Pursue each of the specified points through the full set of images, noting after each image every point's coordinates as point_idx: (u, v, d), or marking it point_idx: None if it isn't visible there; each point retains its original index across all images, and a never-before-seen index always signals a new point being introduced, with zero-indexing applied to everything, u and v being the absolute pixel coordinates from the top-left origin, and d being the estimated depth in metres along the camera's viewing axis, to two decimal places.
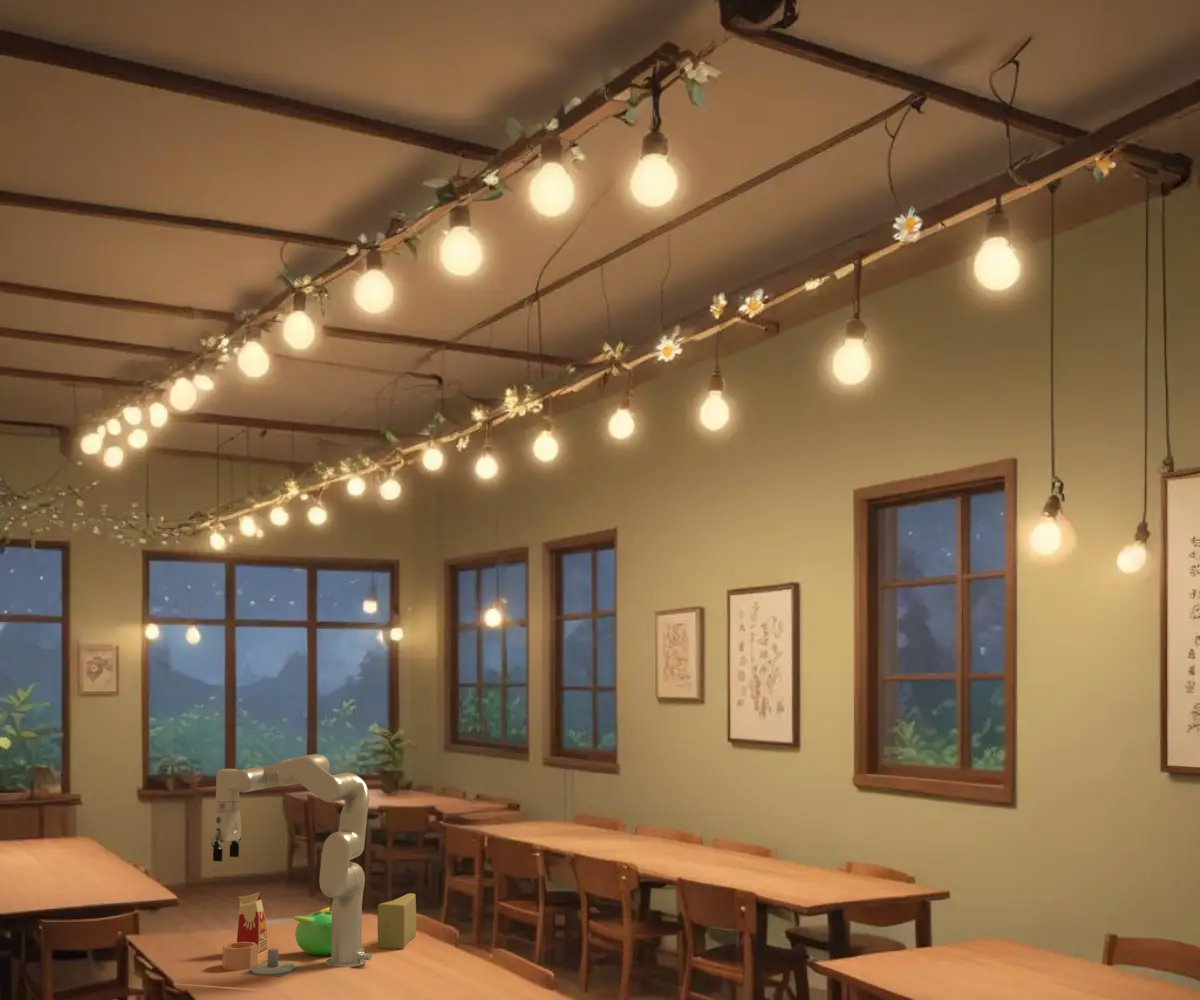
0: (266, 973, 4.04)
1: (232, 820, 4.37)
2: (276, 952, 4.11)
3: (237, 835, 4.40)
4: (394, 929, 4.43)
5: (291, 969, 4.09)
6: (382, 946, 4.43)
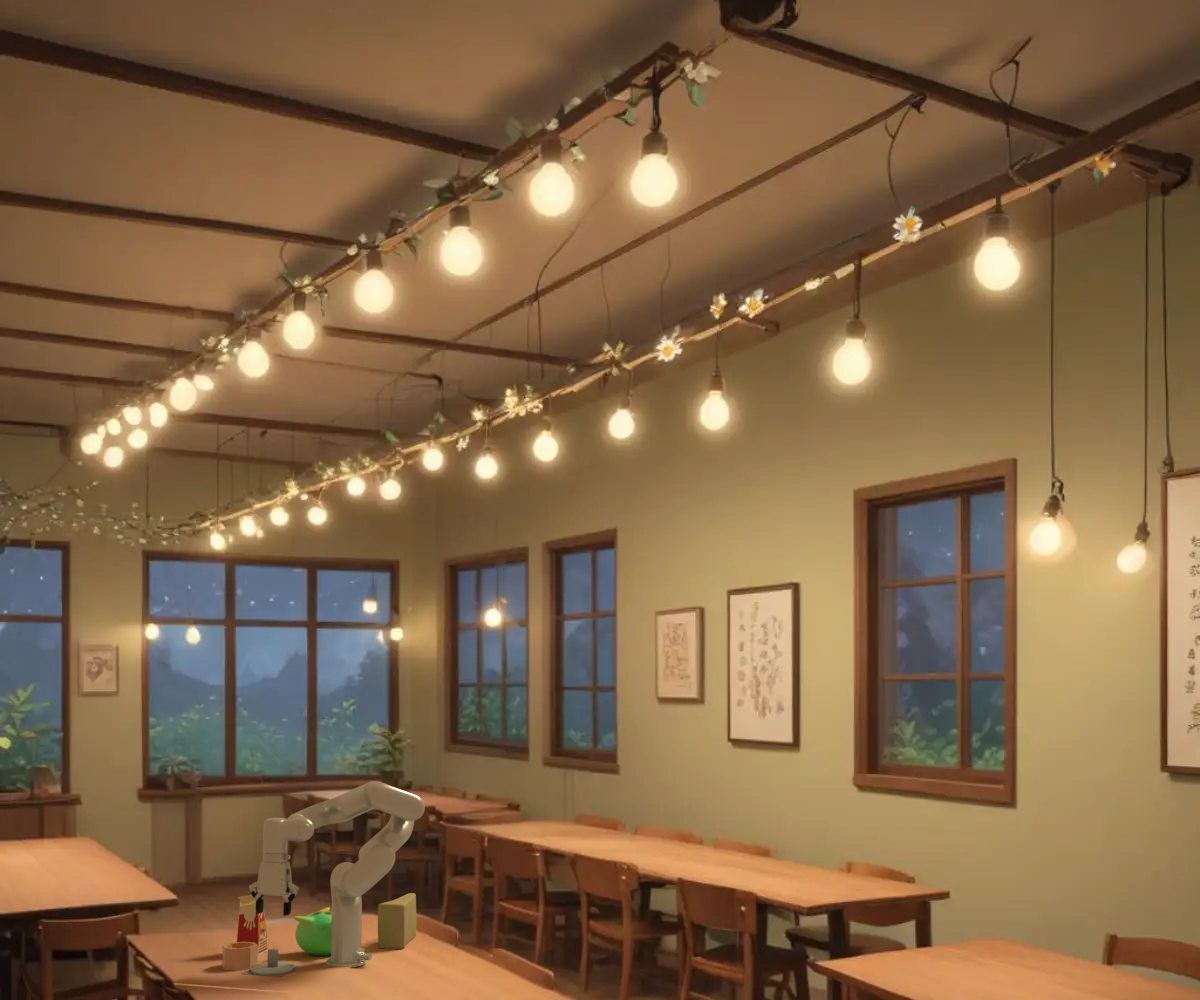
0: (266, 973, 4.04)
1: None
2: (276, 952, 4.11)
3: None
4: (394, 928, 4.43)
5: (291, 969, 4.09)
6: (382, 946, 4.44)
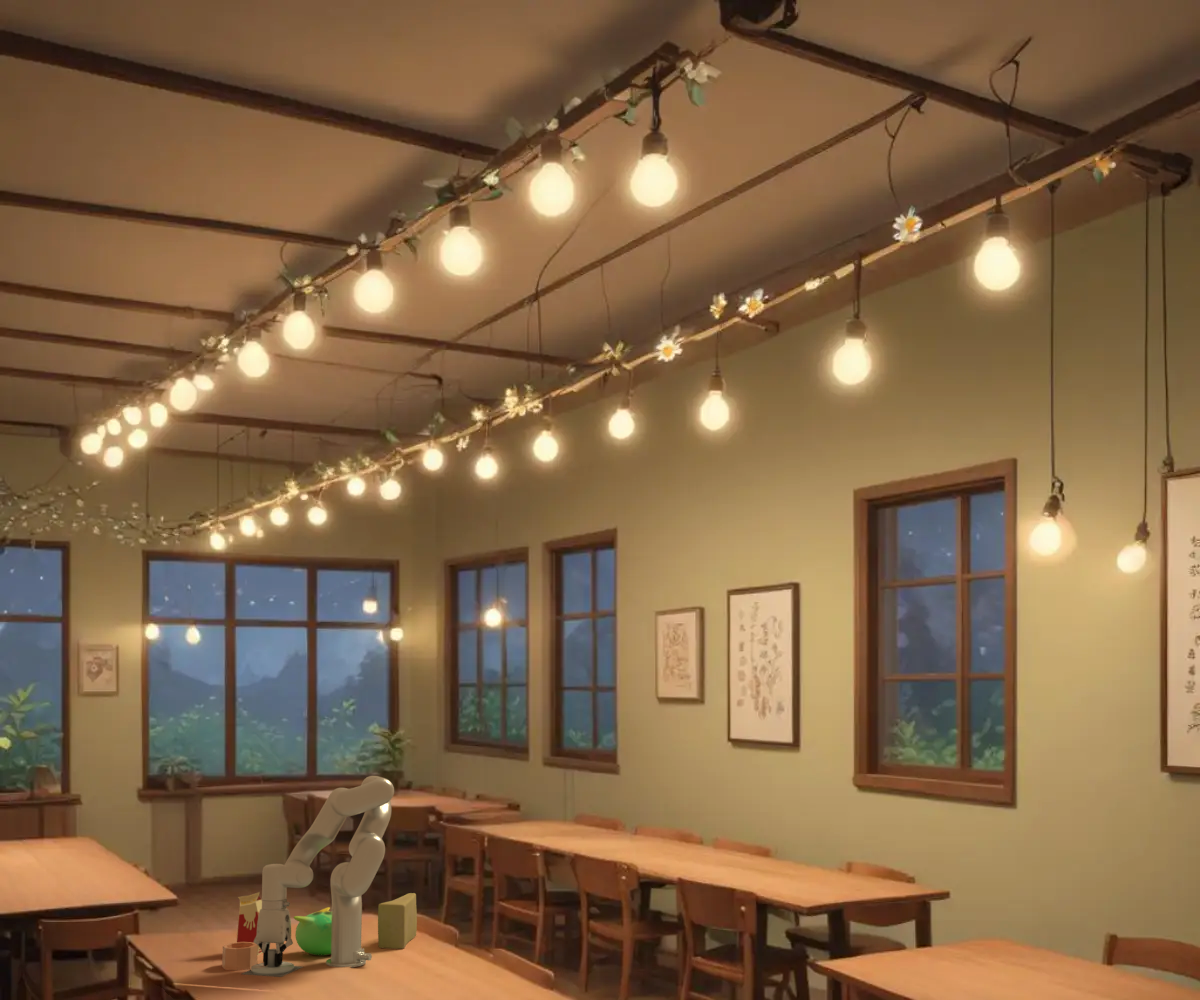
0: (266, 973, 4.04)
1: None
2: (276, 952, 4.11)
3: None
4: (394, 928, 4.44)
5: (291, 969, 4.09)
6: (382, 946, 4.44)
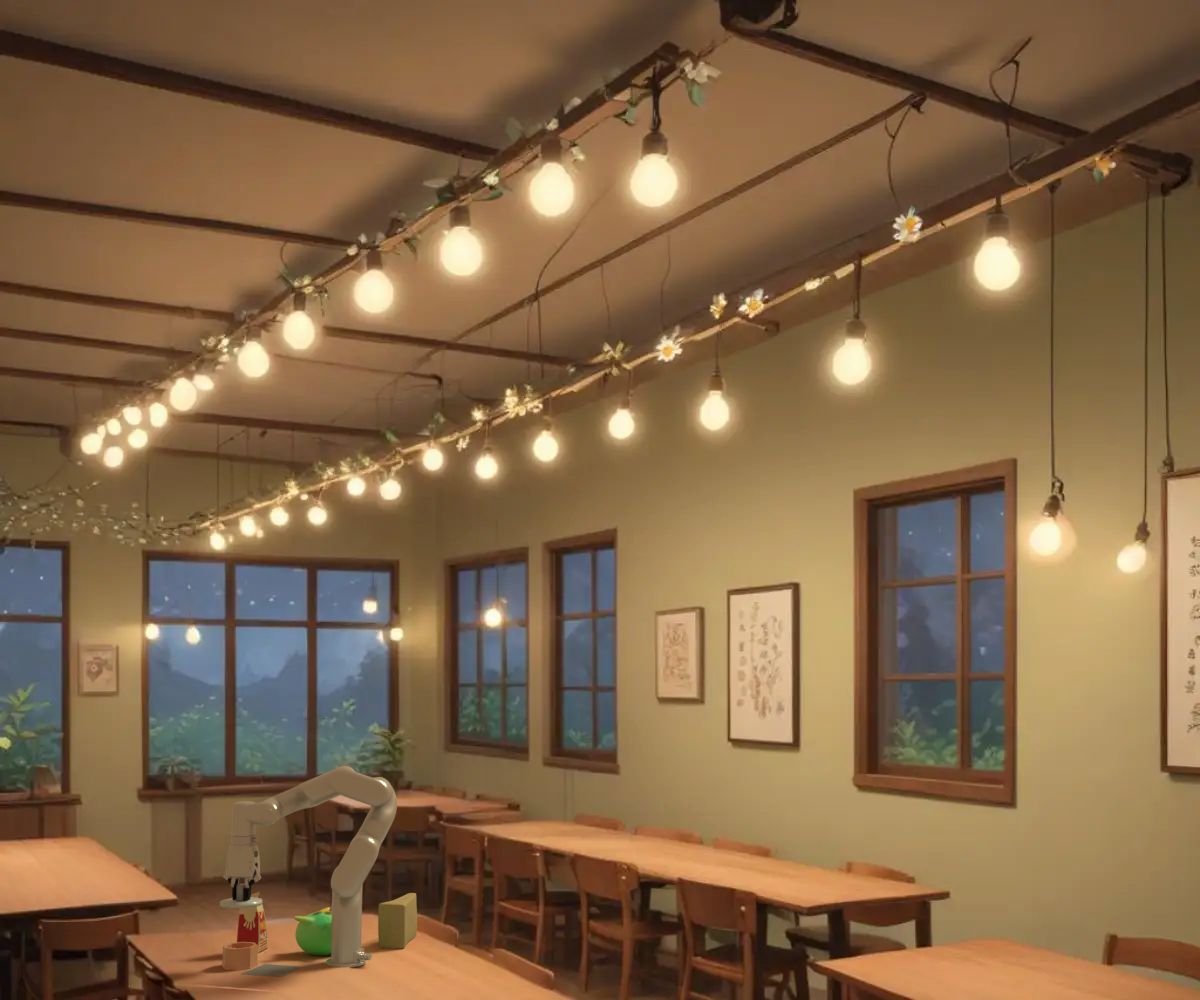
0: (234, 906, 4.12)
1: None
2: None
3: None
4: (394, 928, 4.44)
5: (259, 903, 4.17)
6: (383, 946, 4.44)
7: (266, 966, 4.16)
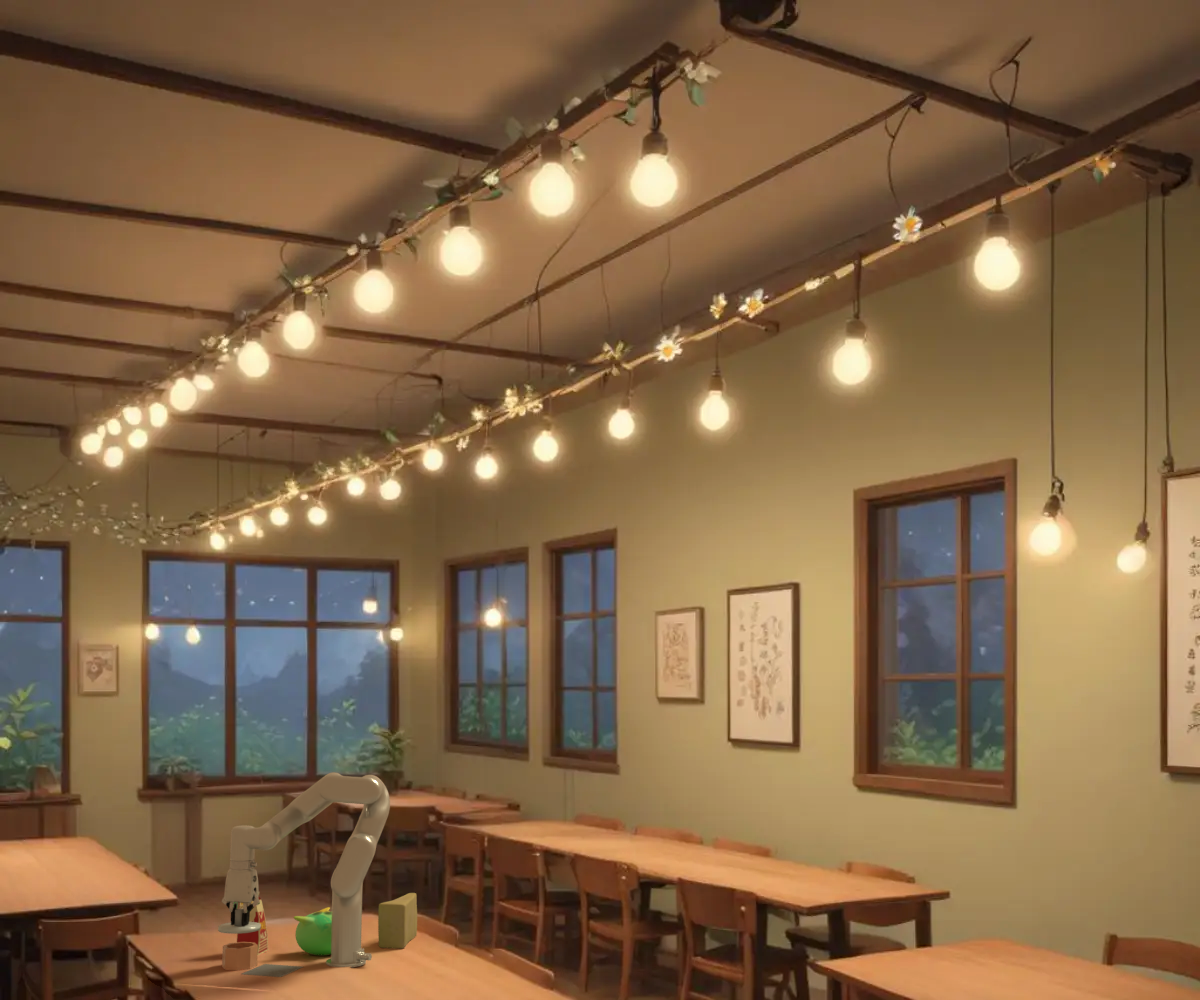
0: (233, 931, 4.11)
1: None
2: (243, 911, 4.17)
3: None
4: (394, 928, 4.44)
5: (258, 928, 4.16)
6: (383, 945, 4.44)
7: (266, 966, 4.16)
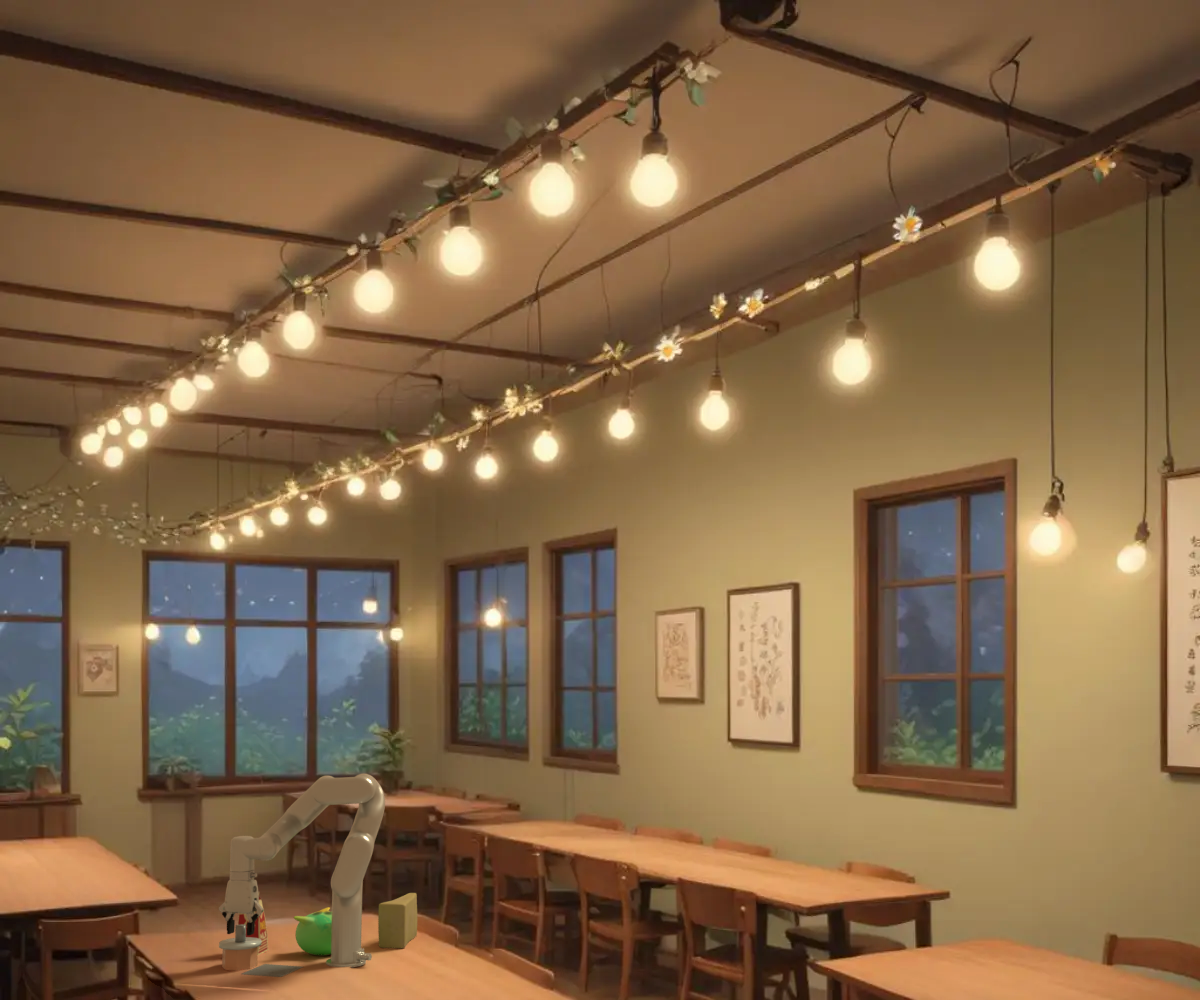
0: (233, 948, 4.11)
1: None
2: (244, 927, 4.17)
3: None
4: (394, 928, 4.44)
5: (258, 944, 4.16)
6: (383, 945, 4.44)
7: (266, 966, 4.16)
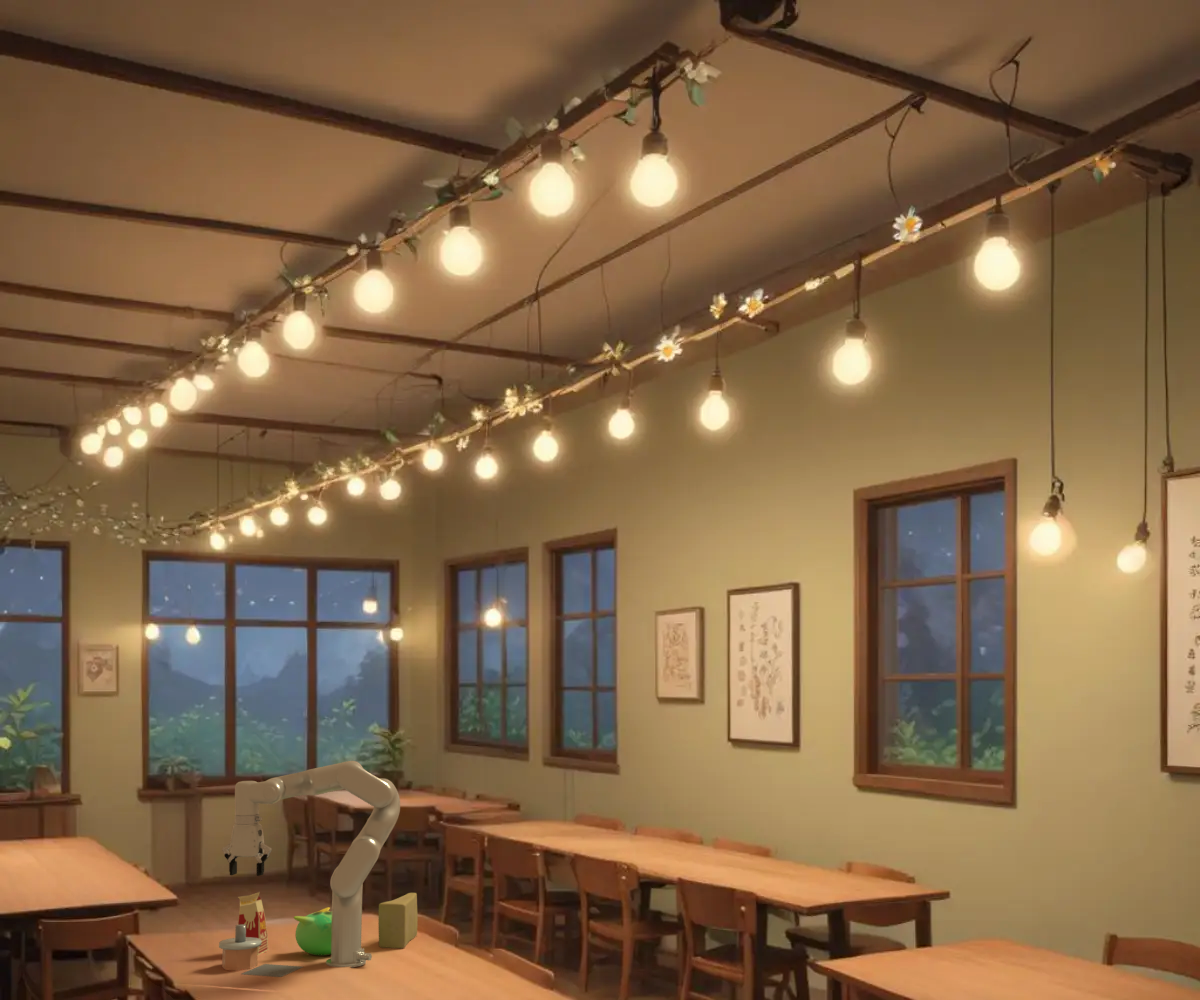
0: (233, 948, 4.11)
1: None
2: (244, 927, 4.17)
3: None
4: (394, 928, 4.44)
5: (258, 944, 4.16)
6: (383, 945, 4.45)
7: (266, 966, 4.16)
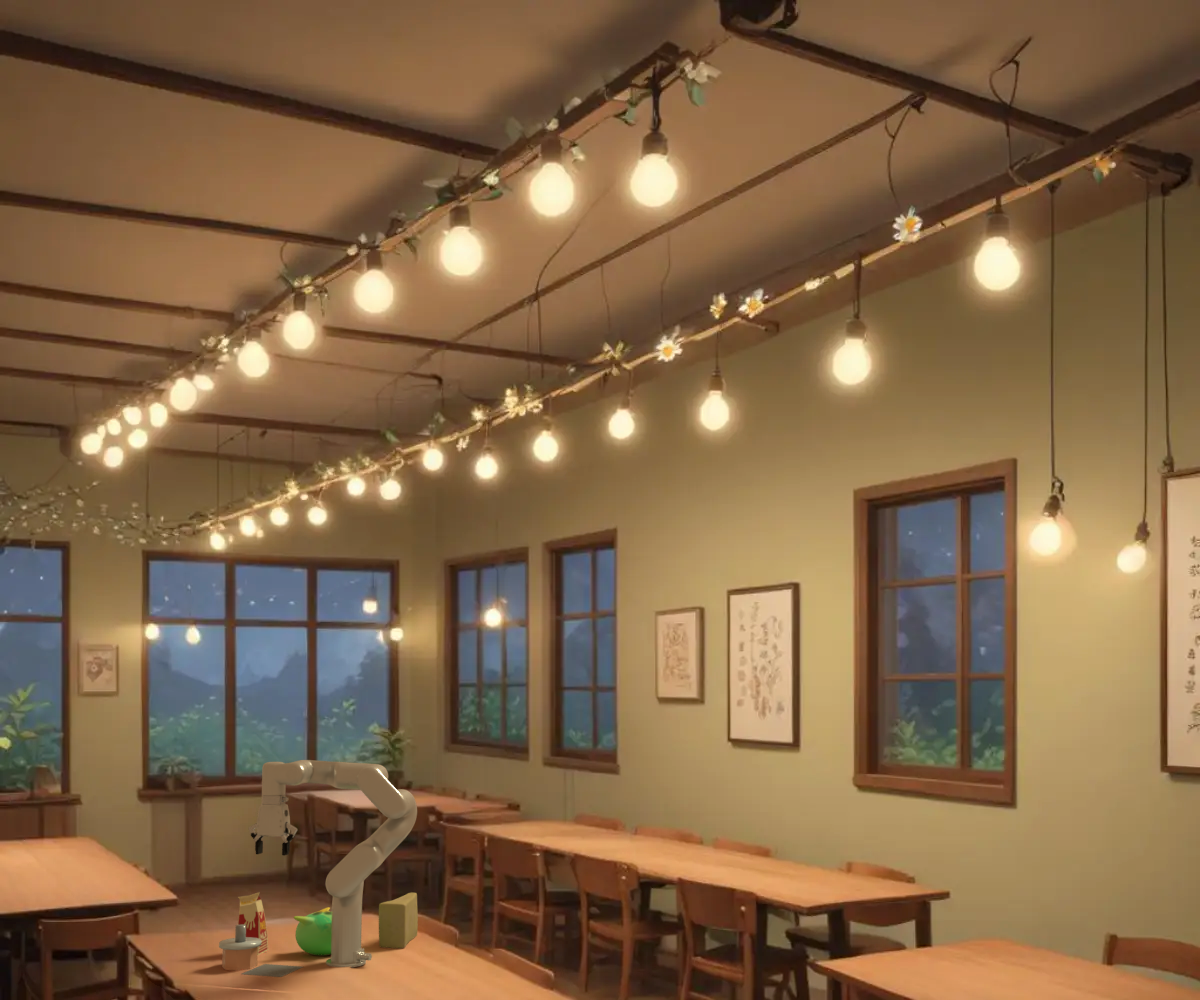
0: (233, 948, 4.11)
1: None
2: (244, 927, 4.17)
3: None
4: (395, 928, 4.44)
5: (258, 944, 4.16)
6: (383, 945, 4.45)
7: (266, 966, 4.16)
